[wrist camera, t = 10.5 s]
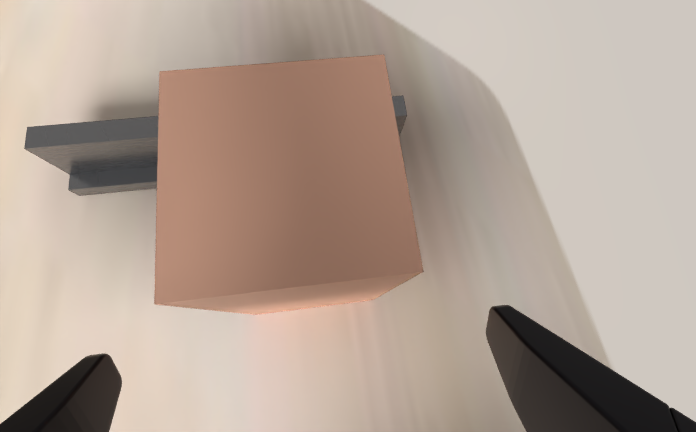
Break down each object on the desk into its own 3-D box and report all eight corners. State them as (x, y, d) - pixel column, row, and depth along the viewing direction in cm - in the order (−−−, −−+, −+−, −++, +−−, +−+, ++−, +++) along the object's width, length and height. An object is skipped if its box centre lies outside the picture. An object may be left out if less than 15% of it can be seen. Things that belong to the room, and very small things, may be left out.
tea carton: (372, 299, 17) (423, 271, 8) (255, 314, 17) (154, 304, 7) (357, 188, 19) (383, 49, 9) (249, 199, 18) (159, 65, 9)
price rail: (396, 164, 19) (409, 131, 16) (79, 195, 18) (21, 166, 15) (390, 129, 20) (402, 89, 16) (82, 157, 19) (28, 120, 15)
